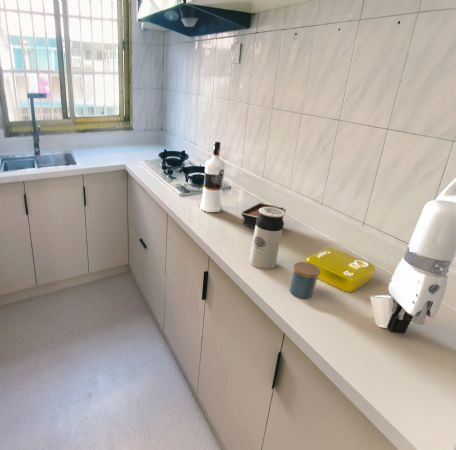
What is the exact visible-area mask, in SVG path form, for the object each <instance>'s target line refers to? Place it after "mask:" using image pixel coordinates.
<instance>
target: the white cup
mask: <svg viewBox="0 0 456 450" xmlns="http://www.w3.org/2000/svg"><path fill="white" fill-rule="evenodd" d="M369 298H370V304H371V309H372V310H371V311H372V315H373V321H374V324H376V325H377V327H379V328H382V329H383V328H384V329H388V328H387V325H388V323H389V320H390V318H391V316H392V313H393V312H392V307H393V298H391V296H390V294H376V295H375V294H373V295H369Z"/></svg>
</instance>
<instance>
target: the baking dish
mask: <svg viewBox="0 0 456 450" xmlns="http://www.w3.org/2000/svg"><path fill="white" fill-rule="evenodd" d="M262 207H273V208H278V209H280V210H282V211H284V212H285V213H286V210H287V208H286V207H282V206H278V205H274V204H270V203H265V202H258V203H256V204H254V205H253V206H251V207H249V208H247V209H244V210H243V211H241V212H240V215H241V216H242V218H243V222H242V225H243V226H251V227H252V228H254V229H255V226H256V220H257V218H258V217H259V215H260V212H259V209H260V208H262ZM282 219H283V220H284V217H283V218H282Z"/></svg>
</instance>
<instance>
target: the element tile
mask: <svg viewBox="0 0 456 450" xmlns="http://www.w3.org/2000/svg"><path fill="white" fill-rule="evenodd" d="M305 260H306V261H305V262H307V263H311V264H313V265H315V266H317V267H318V268H319V269H320V274H319V276H318V277H317V280H320V281H323V282H325V284H326V283H327V284H329V285H330V286H333V287H335V288H337V289H339V290H341V291H343V292H346V293H353V292H354V291H356V290H358V289H360V287H362V286H363V285H365V284H366V283H368V282H369V281H371V280H372V278H373V275H374V273H375V270H376V266H375V264H373V263H370V262H368V261H365V260H363V259H361V258H358V257H355V256H354V255H350V254H348V253H347V252H343V251H342V250H339V249H336V248H334V247H326V248H324V249H322V250H320V251H318V252H316V253H314V254H311V255H310V256H308V257H307V258H306V259H305Z"/></svg>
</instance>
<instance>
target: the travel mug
mask: <svg viewBox="0 0 456 450" xmlns="http://www.w3.org/2000/svg"><path fill="white" fill-rule="evenodd" d="M259 212H260V215H259V217H258V218H257V220H256V226H255V228H254V232H253V236H252V237H253V238H252V243H251V248H250V249H251V250H250V255H249V263H250V264H251V265H252V266H254V267H256V268H258V269H263V270H270V269H273V268H275V267H276V264H277V260H278V254H279V248H280V245H281V239H282V234H283V230H284V225H285V222H284V216H285V214H286V211H285V212H284V211H282V210H280V209H278V208H273V207H262V208H260V209H259ZM282 218H283V219H282Z"/></svg>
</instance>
